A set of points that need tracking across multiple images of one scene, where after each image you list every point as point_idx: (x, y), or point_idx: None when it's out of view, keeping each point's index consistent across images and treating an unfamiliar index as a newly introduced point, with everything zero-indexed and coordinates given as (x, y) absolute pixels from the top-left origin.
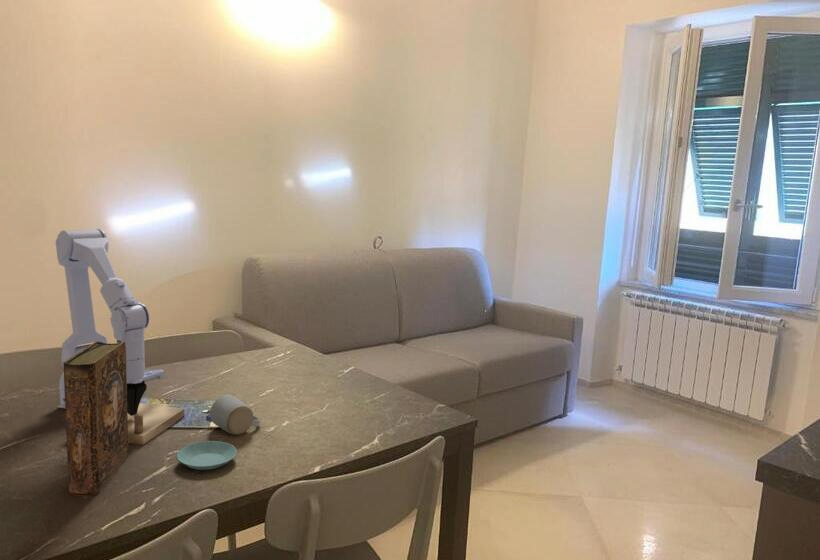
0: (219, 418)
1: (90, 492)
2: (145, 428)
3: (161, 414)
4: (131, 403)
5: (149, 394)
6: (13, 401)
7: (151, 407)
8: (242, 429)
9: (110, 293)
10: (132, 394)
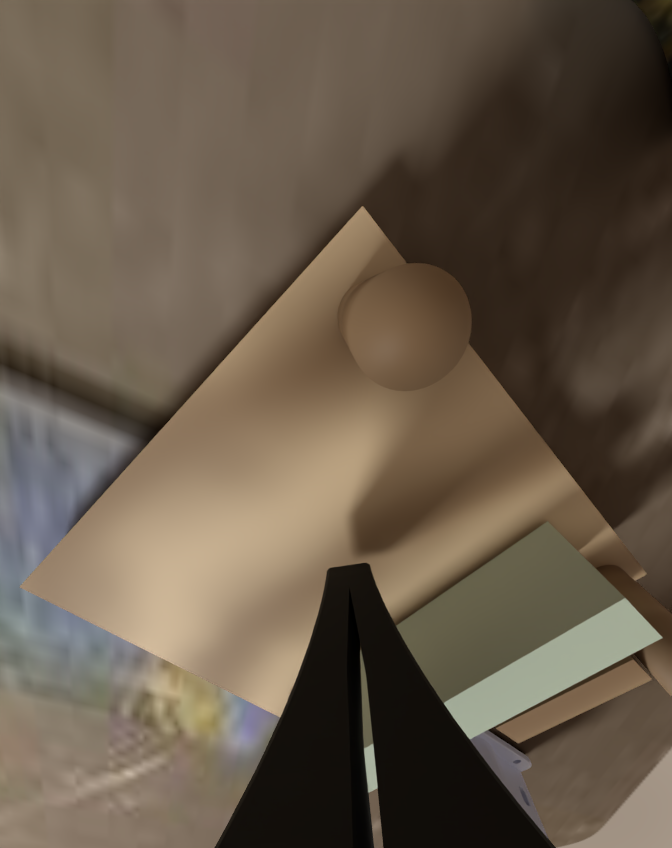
0: None
1: None
2: (308, 372)
3: (171, 557)
4: (387, 657)
5: (214, 769)
6: (601, 809)
7: (219, 656)
8: None
9: None
10: (413, 810)
